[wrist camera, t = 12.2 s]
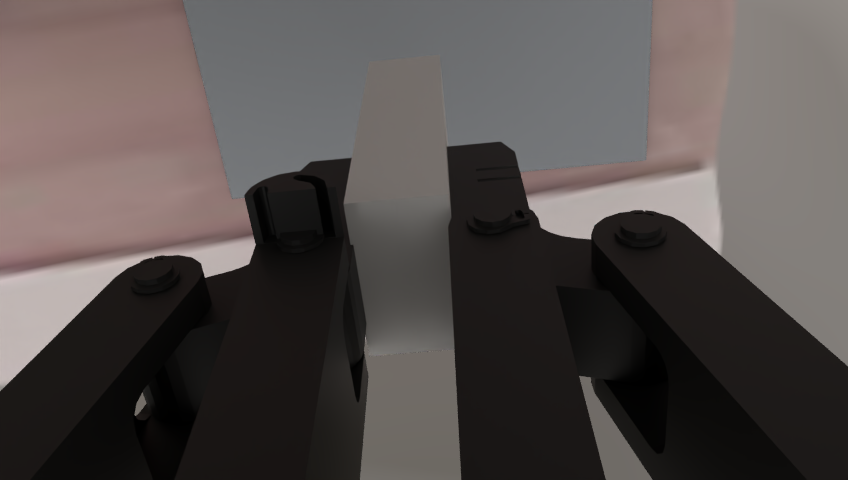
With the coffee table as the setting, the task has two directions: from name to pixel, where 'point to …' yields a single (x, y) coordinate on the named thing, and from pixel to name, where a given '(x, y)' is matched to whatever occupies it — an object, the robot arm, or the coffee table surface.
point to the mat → (460, 67)
